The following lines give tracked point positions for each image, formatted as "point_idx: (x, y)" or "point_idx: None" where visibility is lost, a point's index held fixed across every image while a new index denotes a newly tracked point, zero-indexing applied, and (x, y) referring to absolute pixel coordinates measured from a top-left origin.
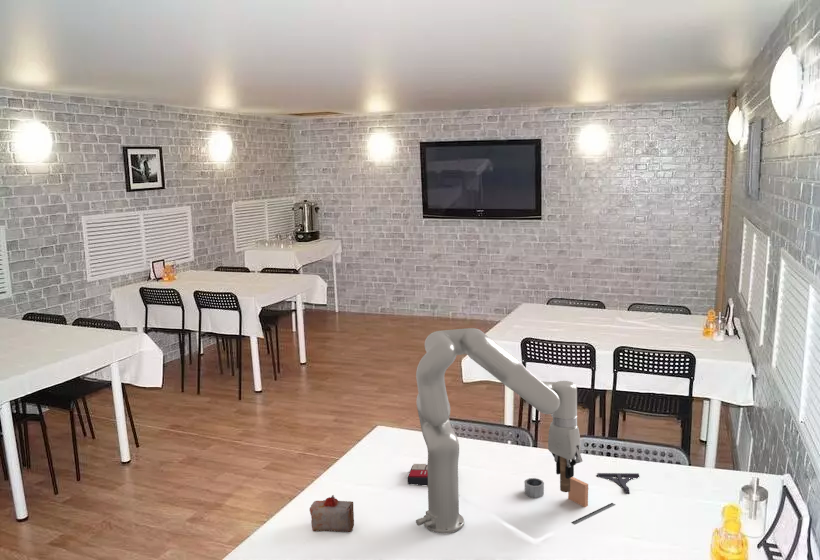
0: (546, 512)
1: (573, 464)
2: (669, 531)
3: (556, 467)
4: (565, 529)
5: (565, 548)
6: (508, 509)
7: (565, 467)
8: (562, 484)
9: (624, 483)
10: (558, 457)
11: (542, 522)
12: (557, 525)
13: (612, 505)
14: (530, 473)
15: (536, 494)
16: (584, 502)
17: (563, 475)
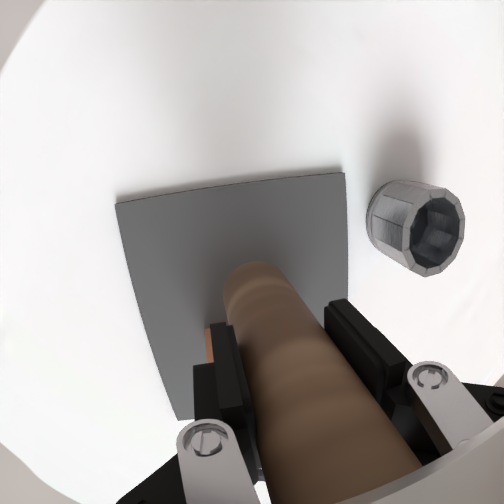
0: (274, 169)
1: (138, 487)
2: (20, 417)
3: (371, 329)
4: (114, 149)
5: (23, 73)
6: (374, 59)
7: (248, 396)
8: (255, 281)
9: (264, 480)
10: (424, 427)
11: (214, 95)
12: (157, 137)
13: (177, 411)
14: (476, 304)
15: (386, 206)
16: (208, 342)
17: (263, 325)
